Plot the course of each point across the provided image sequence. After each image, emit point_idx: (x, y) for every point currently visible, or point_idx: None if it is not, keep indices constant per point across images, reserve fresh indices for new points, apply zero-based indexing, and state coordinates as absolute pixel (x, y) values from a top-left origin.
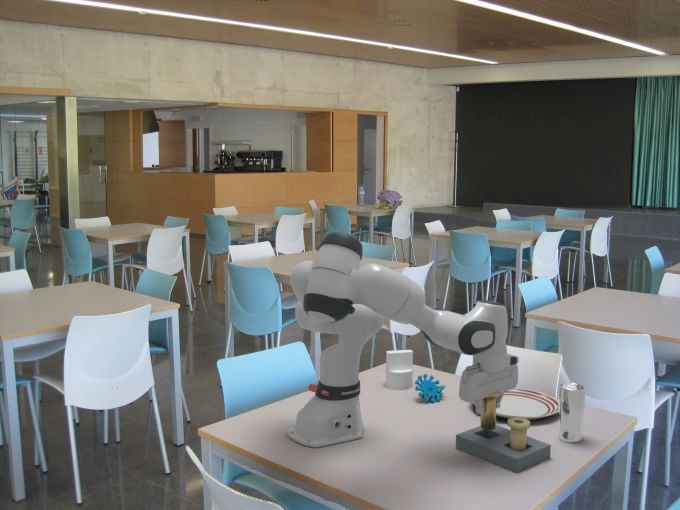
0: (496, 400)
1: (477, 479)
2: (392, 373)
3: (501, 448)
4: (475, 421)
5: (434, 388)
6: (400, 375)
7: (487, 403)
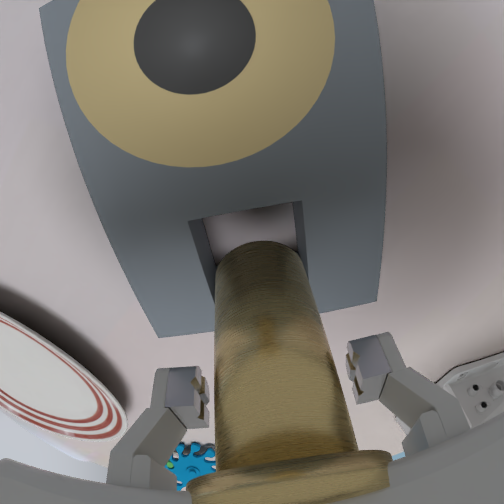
0: (175, 425)
1: (485, 37)
2: None
3: (335, 71)
4: (153, 373)
5: (181, 468)
6: None
7: (344, 407)
